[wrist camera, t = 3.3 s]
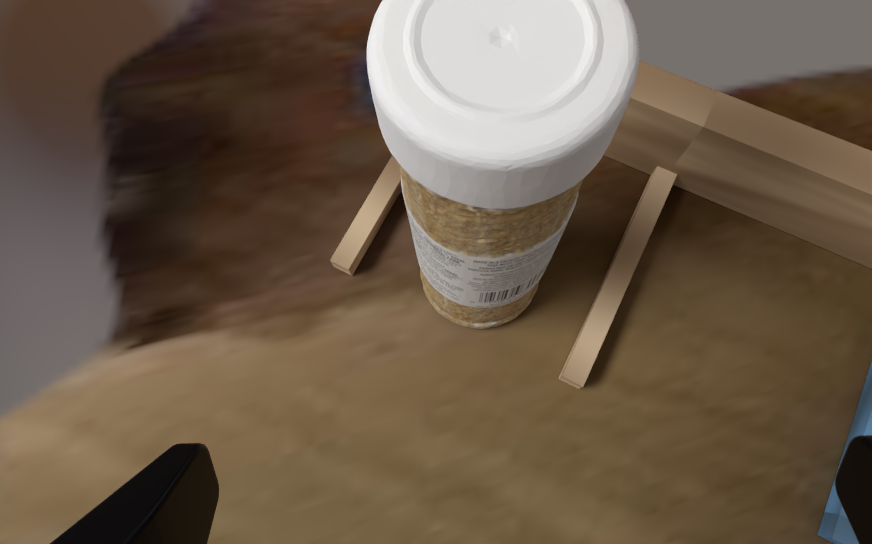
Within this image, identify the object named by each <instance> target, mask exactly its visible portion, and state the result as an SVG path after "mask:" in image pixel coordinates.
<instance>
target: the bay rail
mask: <svg viewBox="0 0 872 544" xmlns="http://www.w3.org/2000/svg"><path fill="white" fill-rule="evenodd" d="M603 155H604V156H606V157H609V158H611V159H614V160H616V161H618V162H621V163H623V164H625V165H628V166H630V167H632V168H635V169H637V170H639V171H642V172H644V173H647V174H649V175H651V176H650V178H649V180H648V183H647V185H646V187H645V189H644V191H643V194H642V196H641V198H640V200H639V202H638V205H637V207H636V209H635V211H634V213H633V216H632V218H631V220H630V222H629V224H628V226H627V229H626V231H625V233H624V235H623V237H622V240H621V242H620V244H619V246H618V248H617V251H616V253H615V255H614V257H613V259H612V262H611V264H610V266H609V268H608V270H607V273H606V275H605V277H604V279H603V281H602V284H601V286H600V288H599V290H598V292H597V295H596V297H595V299H594V301H593V303H592V306H591V308H590V310H589V312H588V314H587V317H586V319H585V321H584V323H583V325H582V328H581V330H580V332H579V334H578V336H577V339H576V341H575V343H574V345H573V347H572V349H571V352H570V354H569V356H568V358H567V360H566V363H565V365H564V367H563V369H562V371H561V374H560V376H559V378H558V379H560V380H562V381H564V382H566V383H568V384H570V385H572V386H574V387H576V388H578V389H580V388H582V387H583V386H584V384H585V382H586V380H587V377H588V375H589V373H590V371H591V368H592V366H593V364H594V362H595V359H596V357H597V355H598V352H599V350H600V348H601V346H602V343H603V341H604V339H605V337H606V334H607V332H608V330H609V328H610V325H611V323H612V321H613V319H614V316H615V314H616V312H617V309H618V307H619V305H620V303H621V300H622V298H623V296H624V294H625V291H626V289H627V287H628V285H629V282H630V280H631V278H632V276H633V273H634V271H635V269H636V266H637V264H638V262H639V260H640V257H641V255H642V253H643V251H644V248H645V246H646V244H647V242H648V239H649V237H650V235H651V233H652V230H653V228H654V226H655V224H656V221H657V219H658V217H659V214H660V212H661V210H662V208H663V205H664V203H665V201H666V199H667V196H668V194H669V192H670V190H671V187H672V185H675V186H677V187H680V188H682V189H684V190H687V191H689V192H691V193H694V194H696V195H698V196H701V197H703V198H706V199H708V200H710V201H713V202H715V203H717V204H720V205H722V206H724V207H727V208H729V209H732V210H734V211H736V212H739V213H741V214H743V215H746V216H748V217H750V218H753V219H755V220H757V221H760V222H762V223H765V224H767V225H769V226H772V227H774V228H776V229H779V230H781V231H783V232H786V233H788V234H791V235H793V236H795V237H798V238H800V239H802V240H805V241H807V242H809V243H812V244H814V245H816V246H819V247H821V248H824V249H826V250H828V251H831V252H833V253H835V254H838V255H840V256H842V257H845V258H847V259H850V260H852V261H854V262H857V263H859V264H861V265H864V266H866V267H868V268H871V269H872V151H870V150H868V149H865V148H862V147H860V146H857V145H855V144H852V143H850V142H847V141H844V140H842V139H839V138H837V137H834V136H832V135H829V134H827V133H824V132H821V131H819V130H816V129H814V128H811V127H809V126H806V125H803V124H801V123H798V122H796V121H793V120H791V119H788V118H786V117H783V116H780V115H778V114H775V113H773V112H770V111H768V110H765V109H762V108H760V107H757V106H755V105H752V104H750V103H747V102H745V101H742V100H739V99H737V98H734V97H732V96H729V95H727V94H724V93H721V92H719V91H716V90H714V89H711V88H709V87H706V86H703V85H701V84H698V83H696V82H693V81H691V80H688V79H685V78H683V77H680V76H678V75H675V74H673V73H670V72H668V71H665V70H662V69H660V68H657V67H655V66H652V65H649V64H647V63H645V62H642V61H639V67H638V73H637V78H636V82H635V85H634V88H633V91H632V94H631V97H630V99H629V102H628V104H627V107H626V110H625V112H624V115H623V117H622V119H621V121H620V123H619V125H618V127H617V130H616V132H615V134H614V136H613V138H612V140H611V142H610V144H609V146H608V148H607V150H606V151H605V153H604V154H603ZM399 169H400V168H399V165H398V161H397V160H396V159H395V157H394V156H393V155H392V157H391V158H390V160H389V162H388V164H387V165H386V167H385V169H384V170H383V172H382V174H381V175H380V177H379V179H378V180H377V182H376V184H375V185H374V187H373V189H372V191H371V192H370V194H369V196H368V197H367V199H366V201H365V202H364V204H363V206H362V207H361V209H360V211H359V212H358V214H357V216H356V218H355V219H354V221H353V223H352V224H351V226H350V228H349V229H348V231H347V233H346V234H345V236H344V238H343V239H342V241H341V243H340V244H339V246H338V248H337V250H336V251H335V253H334V255H333V256H332V258H331V260H330V261H331V263H332V264H333V266H334V267H336V268H338V269H340V270H342V271H344V272H346V273H348V274H350V275H353V274H354V272H355V270H356V268H357V267H358V265H359V263H360V262H361V260H362V258H363V256H364V255H365V253H366V251H367V249H368V248H369V246H370V244H371V242H372V241H373V239H374V237H375V236H376V234H377V232H378V230H379V229H380V227H381V225H382V223H383V222H384V220H385V218H386V217H387V215H388V213H389V211H390V210H391V208H392V206H393V204H394V203H395V201H396V199H397V197H398V196H399V194H400V192H401V191H402V186H401V174H400V170H399ZM860 435H872V362H871V365H870V368H869V371H868V374H867V378H866V381H865V384H864V387H863V390H862V394H861V397H860V400H859V403H858V406H857V410H856V413H855V416H854V419H853V422H852V426H851V429H850V432H849V435H848V438H847V441H846V445H845V448H844V451H843V454H842V457H841V461H840V464H841V462H842V460H843V457H844V455H845V452H846V450H847V447H848V445H849V443H850V441H851V440H852V439H853V438H854V437H856V436H860ZM840 464H839V467H840ZM839 467H838V469H839ZM837 472H838V470H837ZM836 474H837V473H836ZM835 478H836V477H835ZM817 535H818V536H820V537H822V538H824V539H826V540H828V541H830V542H832V543H834V544H859V542H858V540H857V538H856V536H855V533H854V531H853V529H852V527H851V525H850V522H849V520H848V518H847V516H846V514H845V511H844V509H843V507H842V505H841V503H840V500H839V498H838V495H837V492H836V488H835V480H834V483H833V486H832V489H831V493H830V496H829V499H828V502H827V505H826V509H825V512H824V515H823V518H822V521H821V524H820V528H819V531H818V534H817Z"/></svg>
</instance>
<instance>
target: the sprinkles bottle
mask: <svg viewBox="0 0 872 544" xmlns="http://www.w3.org/2000/svg"><path fill="white" fill-rule="evenodd" d="M638 67H639V40H638V36H637V30H636V27H635V23H634V20H633V17H632V15H631V12H630V10H629V8H628V6H627V4H626V2H625V0H382V2H381V4H380V6H379V8H378V10H377V12H376V14H375V16H374V19H373V23H372V26H371V29H370V33H369V38H368V42H367V69H368V77H369V82H370V87H371V92H372V97H373V101H374V105H375V110H376V114H377V118H378V122H379V126H380V129H381V132H382V135H383V138H384V140H385V142H386V144H387V146H388V148H389V150H390V152H391V153H392V155H393V156H394V157H395V159H396V160H397V161H398V165H399V168H400V169H399V170H400V174H401V186H402V193H403V197H404V201H405V206H406V210H407V214H408V218H409V222H410V227H411V231H412V236H413V240H414V245H415V250H416V254H417V258H418V262H419V265H420V267H421V268H420V276H421V280H422V283H423V289H424V292H425V294H426V296H427V298H428V300H429V302H430V303H431V304H432V305H433V306H434V308H435V309H436V310H437V312H438V313H439V314H440V315H442V316H444V317H446V318H447V319H448V320H450V321H451V322H453V323H456V324H458V325H461V326H464V327H470V328H475V329H486V328H490V327H496V326H499V325H501V324H503V323H506V322H509V321H511V320H513V319H514V318H516V317H517V316H518V315H519V314H520V313H521V312H523V311H524V310H525V309H526V307H527V306H528V305H529V304H530V302H531V300H532V298H533V296H534V294H535V292H536V291H537V288H538V284H539V280H540V279H541V277H542V276H543V274H544V272H545V270H546V268H547V266H548V264H549V262H550V260H551V258H552V256H553V253H554V251H555V249H556V247H557V245H558V243H559V241H560V238H561V236H562V234H563V232H564V230H565V228H566V226H567V223H568V221H569V219H570V217H571V214H572V212H573V210H574V207H575V205H576V201H577V197H578V191H579V189H580V186H581V184H582V181H583V179H584V177H585V176H586V175H587V174H588V173H590V172H591V170H592V169H593V168H594V167H595V166H596V165H597V163H598V162H599V161H600V159H601V158H602V156H603V154H604V153H605V151H606V150H607V148H608V146H609V144H610V142H611V140H612V138H613V136H614V134H615V132H616V130H617V127H618V125H619V123H620V121H621V119H622V117H623V115H624V112H625V110H626V107H627V104H628V102H629V99H630V97H631V94H632V91H633V88H634V85H635V82H636V78H637V73H638Z"/></svg>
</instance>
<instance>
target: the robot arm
mask: <svg viewBox="0 0 872 544" xmlns="http://www.w3.org/2000/svg"><path fill="white" fill-rule="evenodd" d="M835 488H836V492H837V495H838V498H839V500H840V503H841V505H842V507H843V509H844V511H845V514H846V516H847V518H848V520H849V522H850V525H851V527H852V529H853V531H854V533H855V536H856V538H857V540H858V542H859V544H872V435H860V436H856V437H854V438H853V439H852V440H851V441H850V443H849V445H848V447H847V450H846V452H845V455H844V457H843V460H842V462H841V464H840V467H839V469H838V472H837V474H836V478H835ZM218 497H219V484H218V480H217V477H216V474H215V470H214V467H213V464H212V460H211V457H210V454H209V451H208V449H207V447H206V446H205V445H204V444H201V443H188V444H176V445H174V446H172V447H170V448H169V449H168V450H167V451H165V452H164V453H163V454H162V455H160V456H159V457H158V458H157V459H155V460H154V461H153V462H152V463H150V464H149V465H148V466H147V467H145V468H144V469H143V470H141V471H140V472H139V473H138V474H136V475H135V476H134V477H133V478H131V479H130V480H129V481H128V482H126V483H125V484H124V485H123V486H121V487H120V488H119V489H118V490H116V491H115V492H114V493H113V494H111V495H110V496H109V497H108V498H106V499H105V500H104V501H103V502H101V503H100V504H99V505H98V506H96V507H95V508H94V509H93V510H91V511H90V512H89V513H88V514H86V515H85V516H84V517H83V518H81V519H80V520H79V521H78V522H76V523H75V524H74V525H73V526H71V527H70V528H69V529H68V530H66V531H65V532H64V533H63V534H61V535H60V536H59V537H58V538H56V539H55V540H54V541H53V542H51V543H50V544H207V541H208V538H209V534H210V530H211V526H212V522H213V518H214V514H215V510H216V506H217V502H218Z"/></svg>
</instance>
